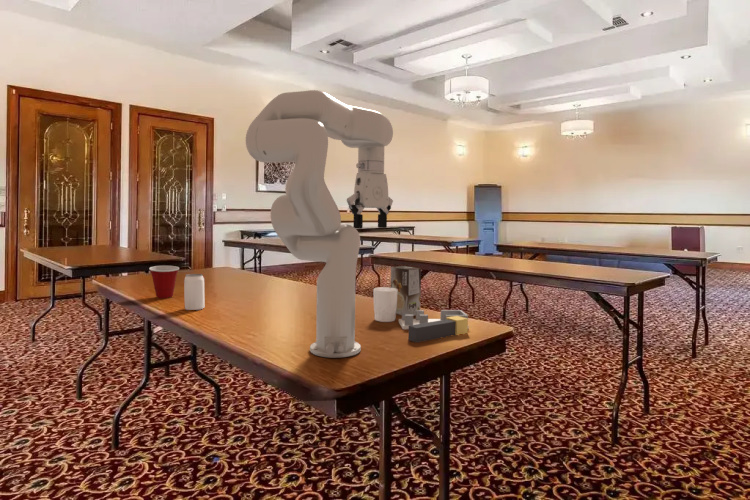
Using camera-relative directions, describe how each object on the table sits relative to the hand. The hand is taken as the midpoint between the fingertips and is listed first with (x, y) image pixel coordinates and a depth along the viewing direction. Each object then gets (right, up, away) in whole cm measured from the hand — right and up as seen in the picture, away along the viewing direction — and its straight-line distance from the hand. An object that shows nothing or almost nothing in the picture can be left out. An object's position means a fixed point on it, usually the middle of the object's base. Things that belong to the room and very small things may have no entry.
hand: (370, 228), depth 132 cm
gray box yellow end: (+19, -31, -4) cm, 36 cm away
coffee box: (+12, -29, +25) cm, 40 cm away
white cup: (+5, -29, +15) cm, 33 cm away
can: (-62, -27, +26) cm, 72 cm away
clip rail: (+19, -30, +8) cm, 36 cm away
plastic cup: (-81, -25, +46) cm, 97 cm away
